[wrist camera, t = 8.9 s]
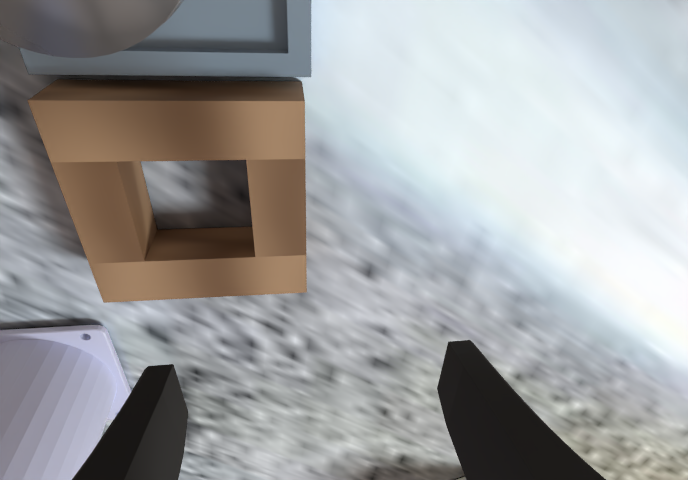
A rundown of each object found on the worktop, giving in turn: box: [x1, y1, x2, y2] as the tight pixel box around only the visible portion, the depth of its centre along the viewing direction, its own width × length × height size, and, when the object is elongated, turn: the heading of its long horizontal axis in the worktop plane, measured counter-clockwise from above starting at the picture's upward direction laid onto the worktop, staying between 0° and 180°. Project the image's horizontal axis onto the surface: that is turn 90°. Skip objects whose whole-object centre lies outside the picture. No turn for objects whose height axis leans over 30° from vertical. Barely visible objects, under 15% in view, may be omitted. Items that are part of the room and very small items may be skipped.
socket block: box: [27, 79, 307, 302], centre depth 18 cm, size 9×9×2 cm
